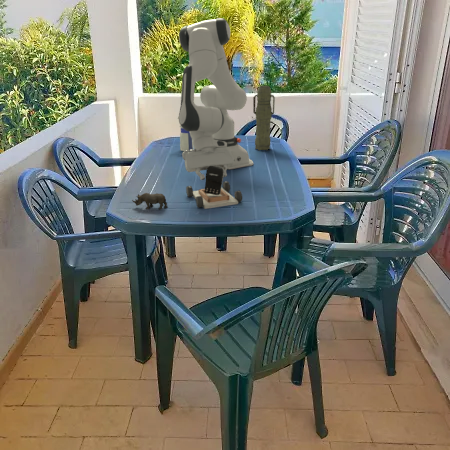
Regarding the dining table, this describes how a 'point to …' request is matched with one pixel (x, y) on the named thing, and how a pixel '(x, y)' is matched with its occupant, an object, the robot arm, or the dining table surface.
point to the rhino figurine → (151, 200)
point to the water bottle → (185, 140)
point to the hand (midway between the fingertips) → (214, 177)
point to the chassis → (214, 197)
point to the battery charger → (214, 180)
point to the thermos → (263, 117)
